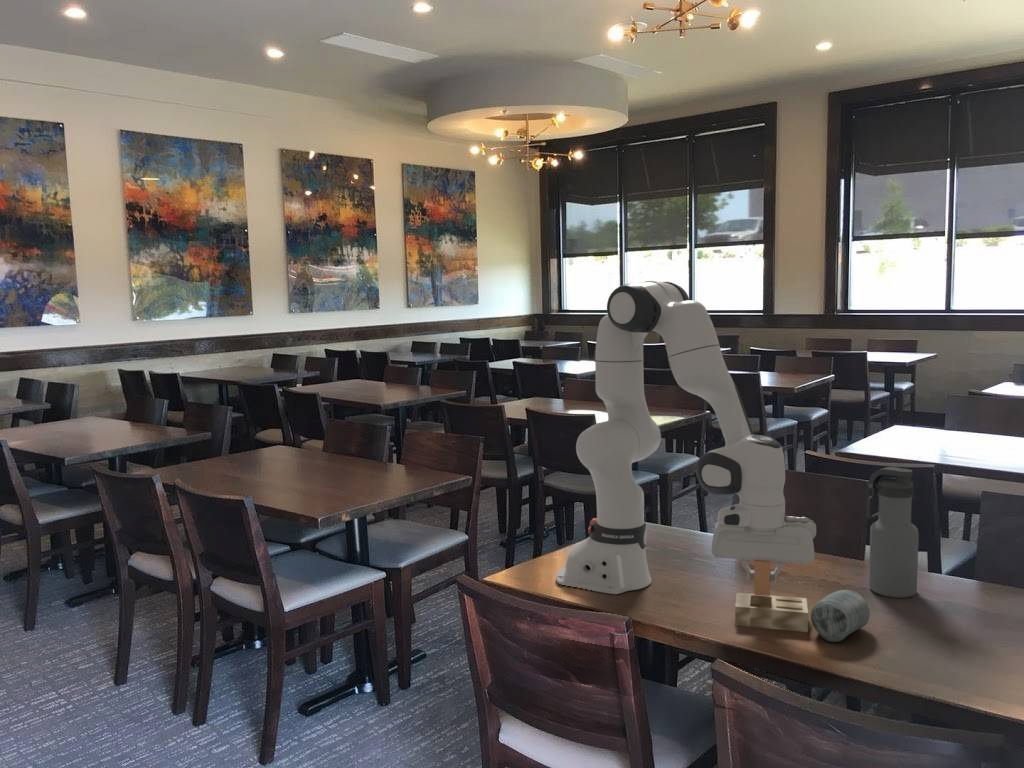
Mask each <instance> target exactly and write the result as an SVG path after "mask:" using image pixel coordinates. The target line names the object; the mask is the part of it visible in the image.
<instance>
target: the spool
mask: <svg viewBox="0 0 1024 768" xmlns="http://www.w3.org/2000/svg"><path fill="white" fill-rule="evenodd" d="M870 614H871V613H870V608H869V605H868V604H867V601H866V600H865V599H864V598H863V596H861V595H860V594H859V593H858V592H856V591H853V590H850V589H842V590H837V591H835V592H832V593H830V594H827V595H826V596H824V597H823V598H822V599H820V600H819V601H818V602H817V603H815V604H814V605H813V607H812V608H811V610H810V621H811V623H812V626H813V628H814V629H815V630H816V632H817V633H818V635H820V637H821V638H823V640H825V641H828V642H830V643H837V642H838V643H839V642H841V641H843V640H845V638H847V637H848V636H849V635H851V634H852V633H854V632H857V631H858V630H860V629H862V628H863V627H864V626H866V625H867V624H868V622H869V620H870Z"/></svg>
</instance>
